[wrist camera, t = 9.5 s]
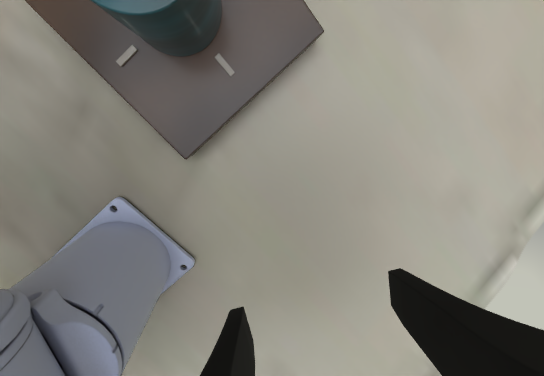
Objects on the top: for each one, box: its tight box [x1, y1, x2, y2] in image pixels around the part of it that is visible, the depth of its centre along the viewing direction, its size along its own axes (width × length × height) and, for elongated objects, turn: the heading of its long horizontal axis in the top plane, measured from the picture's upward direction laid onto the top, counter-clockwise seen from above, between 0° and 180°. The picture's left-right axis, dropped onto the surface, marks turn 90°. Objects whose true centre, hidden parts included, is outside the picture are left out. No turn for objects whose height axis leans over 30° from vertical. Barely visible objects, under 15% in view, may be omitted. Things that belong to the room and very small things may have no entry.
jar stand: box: [25, 0, 324, 159], centre depth 15 cm, size 13×12×2 cm
